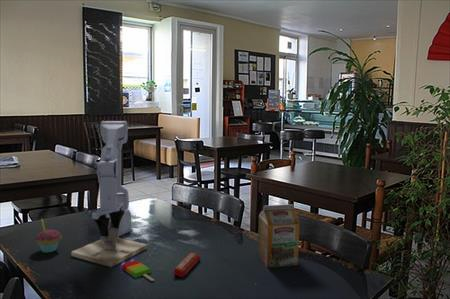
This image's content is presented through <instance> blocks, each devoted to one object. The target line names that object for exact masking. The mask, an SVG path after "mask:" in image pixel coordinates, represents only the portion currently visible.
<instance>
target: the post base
mask: <svg viewBox="0 0 450 299" xmlns="http://www.w3.org/2000/svg"><path fill="white" fill-rule="evenodd" d="M147 249H148V243H147V244H146V243H144V242H143V243H142V242H138V241H133V240H130V239H126V238H120V237H119V239H118V240H117V241H115V242H103V241H101V238H100V239H98V240H96V241H94V242H91V243H88V244H86V245H85V246H81V247H79V248H77V249H74V250H72V251H71V257H74V258H78V259H82V260H85V261H88V262H92V263H96V264H98V265H102V266H106V267H109V268H113V267H114V266H116V265H118V264H120V263H122V262H125V261H126V260H128V259H131V258H132V257H134V256H136V255H137V254H139V253H141V252H143V251H145V250H147Z"/></svg>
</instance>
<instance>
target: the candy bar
mask: <svg viewBox="0 0 450 299" xmlns="http://www.w3.org/2000/svg"><path fill="white" fill-rule="evenodd" d="M200 258H201V257H200V255H199V253H195V252H190V253H189V254H187V256H185V258H183V259H182V261H180V263H179V264H177V266H176V267H175V268H174V269H173V274H174V275H175V276H177V277H180V278H184V277H185V276H186V275H187V274H188V273H189V272H190V270H191V269H192V268H193V267H194V266H195V265H196V264H197V263H198V262H199V260H200Z"/></svg>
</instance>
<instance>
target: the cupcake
mask: <svg viewBox="0 0 450 299" xmlns="http://www.w3.org/2000/svg"><path fill="white" fill-rule="evenodd" d="M40 218H41V219H40V221H41V225H42V231H41V232H38V233H37V234H36V236H35V238H34V240H35V243H37V244H38V246H39V248H40V251H41V252H42V253H52V252H53V253H54V252H55V251H56V250H57V248H58V244H59V242H60V241H61V240H62V238H63V236H62V233H61V232H60V231H59V230H56V229H48V228H47V229H46V226H45V221H44V219H43V218H42V217H40Z"/></svg>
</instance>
